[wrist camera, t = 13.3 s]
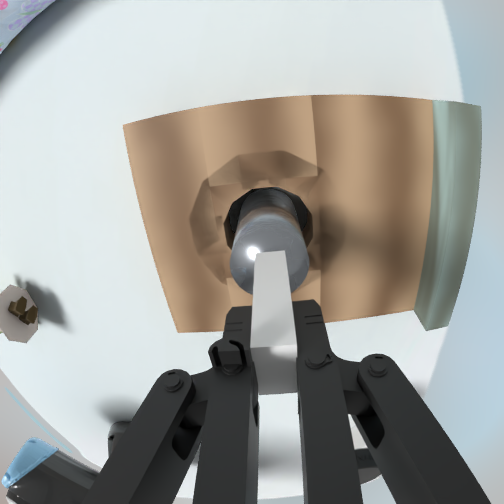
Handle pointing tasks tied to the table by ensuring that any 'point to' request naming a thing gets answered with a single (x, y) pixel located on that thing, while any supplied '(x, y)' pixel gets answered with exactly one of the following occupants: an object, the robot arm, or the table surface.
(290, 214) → the grey metal cylinder
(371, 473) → the jar
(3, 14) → the pencil case
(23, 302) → the figurine
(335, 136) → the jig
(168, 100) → the table surface
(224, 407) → the robot arm
